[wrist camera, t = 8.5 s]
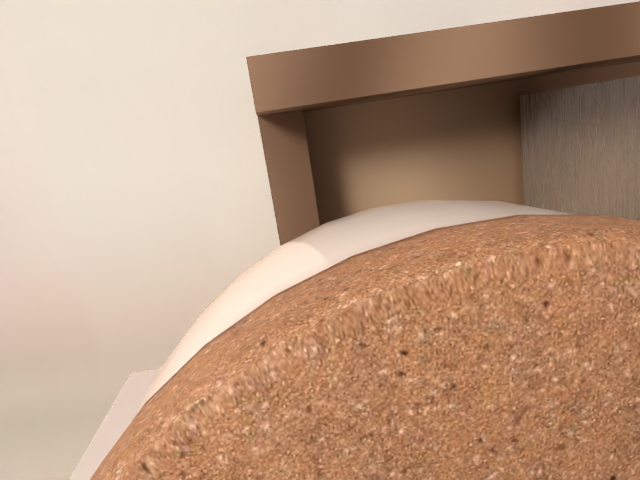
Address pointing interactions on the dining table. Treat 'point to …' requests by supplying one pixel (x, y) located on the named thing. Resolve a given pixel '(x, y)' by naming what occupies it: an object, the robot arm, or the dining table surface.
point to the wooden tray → (422, 110)
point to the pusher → (583, 149)
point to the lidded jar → (409, 355)
